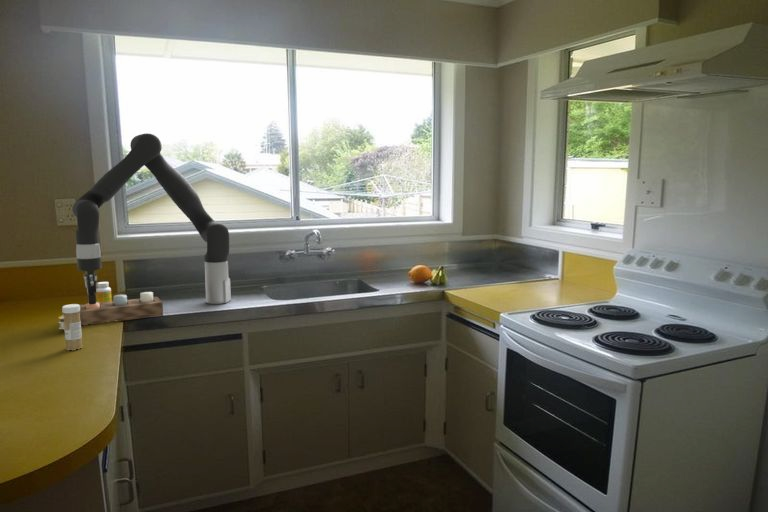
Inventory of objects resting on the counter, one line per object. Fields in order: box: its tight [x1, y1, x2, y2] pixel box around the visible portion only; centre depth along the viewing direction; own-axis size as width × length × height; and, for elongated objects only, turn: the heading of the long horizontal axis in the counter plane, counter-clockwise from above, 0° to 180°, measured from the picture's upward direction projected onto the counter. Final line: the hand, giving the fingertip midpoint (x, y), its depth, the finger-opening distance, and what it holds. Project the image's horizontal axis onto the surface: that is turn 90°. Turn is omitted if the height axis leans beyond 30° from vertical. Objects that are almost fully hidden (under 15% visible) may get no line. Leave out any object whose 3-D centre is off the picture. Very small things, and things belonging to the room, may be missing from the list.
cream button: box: [139, 291, 154, 303], centre depth 197 cm, size 4×4×5 cm
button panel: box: [79, 296, 164, 326], centre depth 192 cm, size 27×11×5 cm, turn 123°
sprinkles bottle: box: [61, 303, 84, 351], centre depth 156 cm, size 5×5×14 cm
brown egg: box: [85, 301, 100, 309], centre depth 187 cm, size 4×4×5 cm
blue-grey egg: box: [112, 294, 128, 306], centre depth 192 cm, size 4×4×5 cm
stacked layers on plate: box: [58, 314, 64, 330], centre depth 175 cm, size 10×9×6 cm
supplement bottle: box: [95, 281, 113, 303], centre depth 207 cm, size 5×5×10 cm
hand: (92, 303), depth 187 cm, fingers closed
